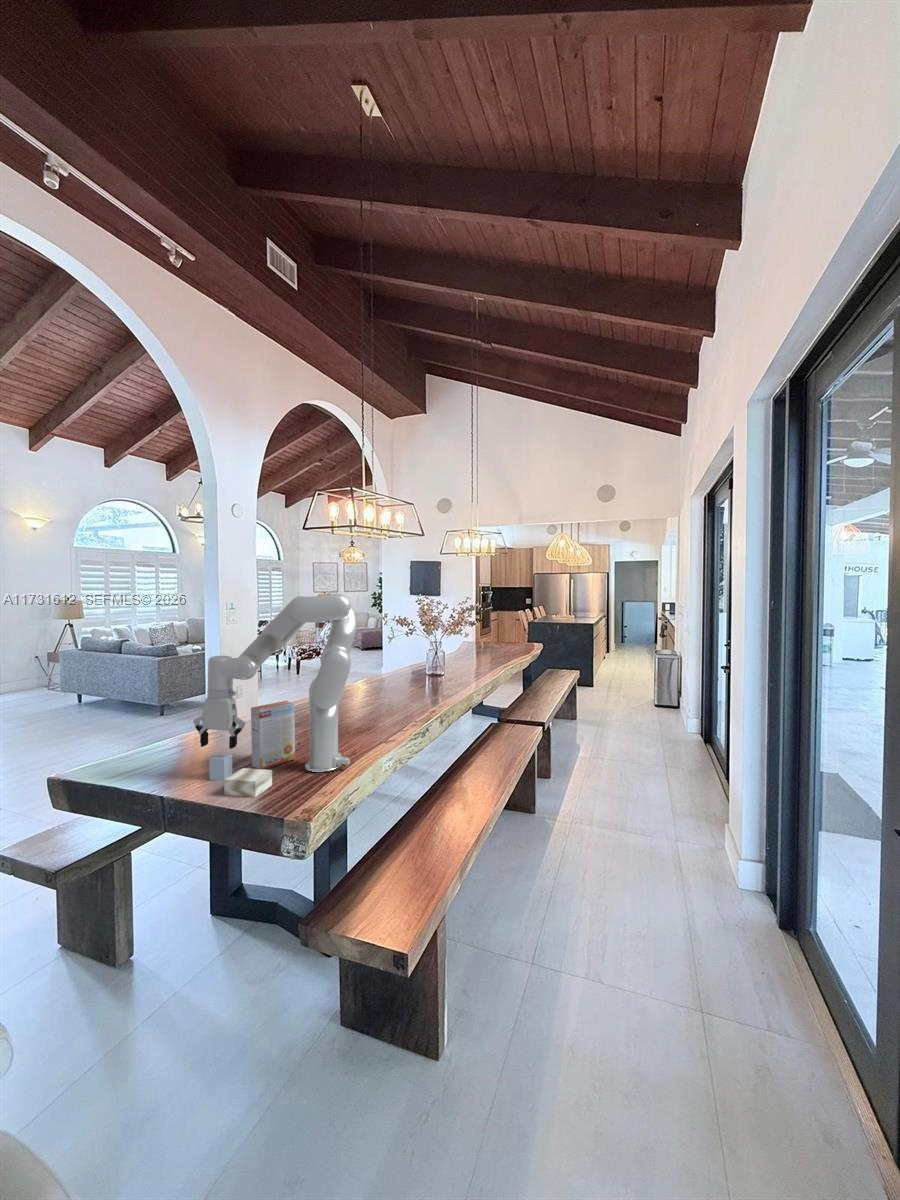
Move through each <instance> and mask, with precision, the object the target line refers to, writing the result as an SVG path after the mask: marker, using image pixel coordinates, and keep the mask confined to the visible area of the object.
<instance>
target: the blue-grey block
mask: <svg viewBox="0 0 900 1200" xmlns="http://www.w3.org/2000/svg"><path fill="white" fill-rule="evenodd" d="M232 774H233V754H232V753H216V754H214V755H213V756H212V757H211V756H210V757H209V780H210V781H224V779H226V778H227V777H229V776H231V775H232Z"/></svg>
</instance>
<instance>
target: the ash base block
mask: <svg viewBox="0 0 900 1200" xmlns="http://www.w3.org/2000/svg"><path fill="white" fill-rule="evenodd" d="M223 782H224V785H223V786H224V792H223V793H224V796H233V797H248V798H249V797H250V798H257V797H258V796H260V794H262V793H264V792H265V791H266V790H268V789H269V788H270V787H272V786H273V769H257V768H248V767H247V768H246V767H242V768H241V769H238V770H237V771H235V772H234V773H232V775H231V776H229V777H227V778H226V779H224V780H223Z"/></svg>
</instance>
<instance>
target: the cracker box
mask: <svg viewBox="0 0 900 1200" xmlns="http://www.w3.org/2000/svg"><path fill="white" fill-rule="evenodd" d="M250 714H251V715H250V723H251V724H250V725H251V727H250V728H251V731H250V732H251V735H250V736H251V767H252V768H253V769H264V770H267V769H269V768H271V767H275V765H276V766H279V765H282V764H285V763H284V762H286V763H288V762H287V761H289V762H291V761H290V760H293V759H295V760H296V739H295V737H296V736H295V735H296V734H295V733H296V732H295V731H296V730H295V729H296V727H295V723H296V722H295V702H293V701H289V700H283V701H278V702H274V703H273V702H272V703H269V704H268V703H267V704H264V705H263V704H262V705H258V706H252V707H250ZM293 761H294V760H293ZM281 763H282V764H281ZM278 764H279V765H278Z"/></svg>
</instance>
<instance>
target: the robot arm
mask: <svg viewBox="0 0 900 1200" xmlns="http://www.w3.org/2000/svg"><path fill="white" fill-rule="evenodd" d="M329 621H330V622H331V627H330V631H329V634H328V637H327V641H326V643H325V646H324V649H323V651H322V653H321V657H320V666H319V669H318V672H317V675H316V677H315V678H314V679H313V680H312V681H311V682H310V685H309V689H308V690H309V691H308V696H309V697H308V698H309V761H308V762H307V763H306V764H305V765H304V770H305V769H306V770H308V771H312V772H324V771H330V770H334V769H336V768H338V767H340V766H341V764H343V765H350V763H351V759H350V758H349V757H348V756H342V753H341V752H340V751H339V702H340V700H341V697H342V695H343V693H344V690H345V689H344V688H345V686H346V683H347V680H348V677H349V674H350V670H351V666H352V659H351V657H350V654H351V650H352V646H353V643H354V640H355V636H356V633H357V627H358V624H357V616H356V613H355V611H354V608H353V606H352V605H351V602H350V600H349V598H348V597H347V596H345V595H343V594H341V593H330V594H327V595H317V596H316V595H311V596H304V595H301V596H300V595H299V596H296V597H294V598H293V599H291V601H289V603H288V604H287V605H285V607H283V608H282V610H281V611H280V612H279V613H278V614H277V615H276V616H275V617H274V618H273V619H272V620H271V621H270V622H269V623H268V624H267V625H266V626H265V627H264V629H263V630H262V631H261V633H260V634H259V635H258V636H257V637H256V638H255V639H254V640H253V641H252V642H251V644H249V645H248V647H247V648H245V649H244V651H243V652H241V654H239V656H238V657H232V656H230V655H213V656H210V657H209V658H208V661H207V662H208V663H207V697H206V698H205V700H204V703H203V708H202V715H200V716H198V717H196V718H194V719H192V723H193V724H194V726H195V729H196V731H198V734H199V735H200V736H199V737H200V738H199V739H200V741H199V742H200V747H201V748H203V747H206V746H207V745H209V732H208V731H209V730H213V731H215V730H217V731H227V732H228V733H229V734H230V736H229V740H228V741H229V742H228V744H229V745H228V748H229V749H230V750H232V749H234V748H236V747H237V745H238V735H239V734H240V733H242V731H243V729H244V728H245V726H246V721H244V720H243V719H241V718H239V717H238V708H237V707H238V706H237V701H236V698H235V697H234V696H236V695H237V691H234V688H233V687H234V685H233V684H234V679H235V680H244V681H246V680H250V679H252V678H253V677H255V676H256V674H257V672H258V669H259V668H260V667H261V666H262V665H263V664H264V663H265V662H266V661H267V660H268V659H269V658H270V656H271V655H273V654H274V652H277V651H278V649H280V648H282V647H284V645H286V644H287V643H288V642H289V641H290V640H291V639H293V636H294V635H295V634H296V633H298V631H299V630H301V628H302V627H303V626H305V624H306V623H318V622H319V623H320V622H329ZM306 770H305V771H306ZM308 771H307V772H308Z"/></svg>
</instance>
